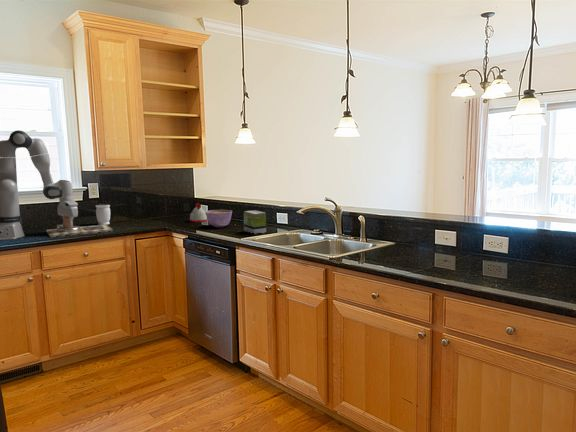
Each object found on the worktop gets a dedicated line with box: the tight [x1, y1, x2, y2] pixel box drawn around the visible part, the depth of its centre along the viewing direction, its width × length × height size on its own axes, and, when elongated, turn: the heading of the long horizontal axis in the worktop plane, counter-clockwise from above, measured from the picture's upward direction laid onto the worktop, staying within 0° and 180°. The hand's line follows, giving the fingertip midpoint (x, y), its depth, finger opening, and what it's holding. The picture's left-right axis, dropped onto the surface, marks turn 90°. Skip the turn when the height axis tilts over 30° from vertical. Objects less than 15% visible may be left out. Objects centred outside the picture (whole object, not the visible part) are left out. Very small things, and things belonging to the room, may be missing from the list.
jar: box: [95, 204, 111, 226], centre depth 344 cm, size 11×10×15 cm
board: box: [46, 224, 114, 238], centre depth 313 cm, size 40×24×2 cm, turn 123°
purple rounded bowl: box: [205, 209, 233, 228], centre depth 333 cm, size 20×20×12 cm
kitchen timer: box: [189, 202, 208, 223], centre depth 359 cm, size 14×14×15 cm
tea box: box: [243, 209, 267, 235], centre depth 309 cm, size 15×10×15 cm, turn 36°
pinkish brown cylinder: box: [60, 216, 74, 229], centre depth 308 cm, size 8×6×8 cm
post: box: [56, 223, 81, 232], centre depth 310 cm, size 15×15×4 cm
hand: (68, 222), depth 309 cm, fingers closed on pinkish brown cylinder, 6 cm apart
